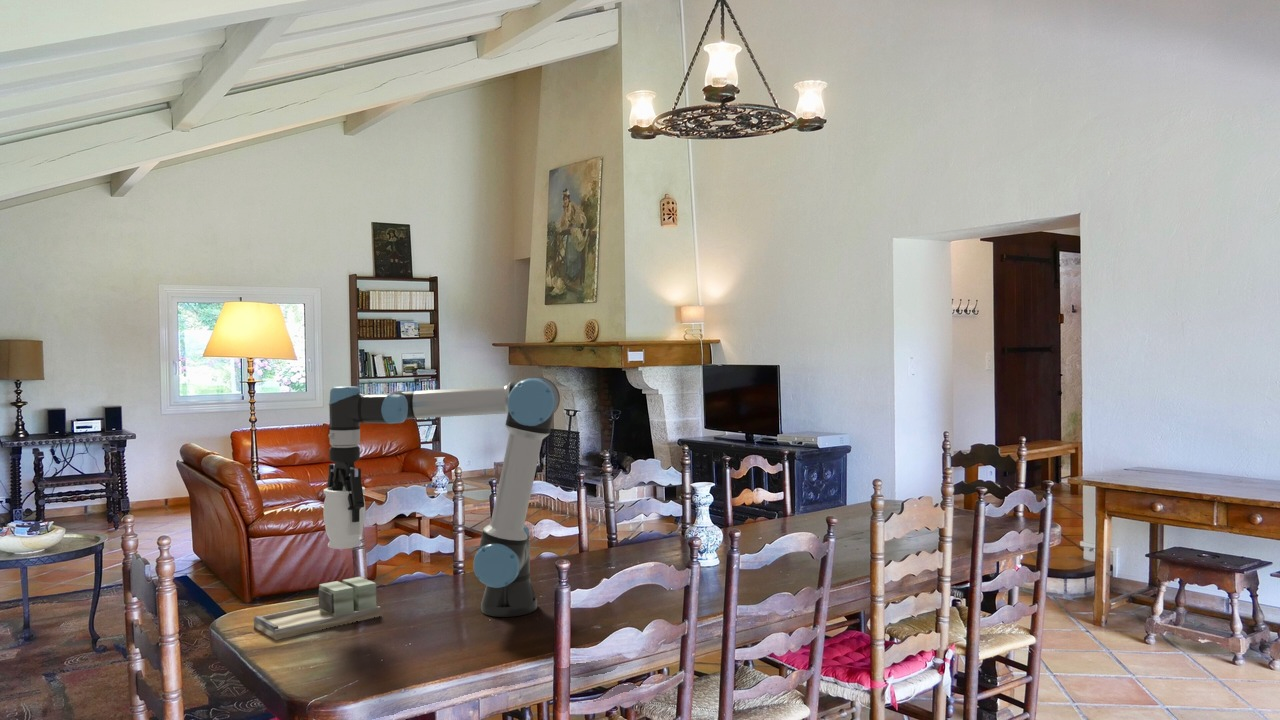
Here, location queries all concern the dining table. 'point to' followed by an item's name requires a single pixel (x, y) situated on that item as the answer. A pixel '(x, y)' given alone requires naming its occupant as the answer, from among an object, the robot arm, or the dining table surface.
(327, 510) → the jar
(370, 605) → the rail board
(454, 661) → the dining table surface
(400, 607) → the dining table surface
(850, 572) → the dining table surface
